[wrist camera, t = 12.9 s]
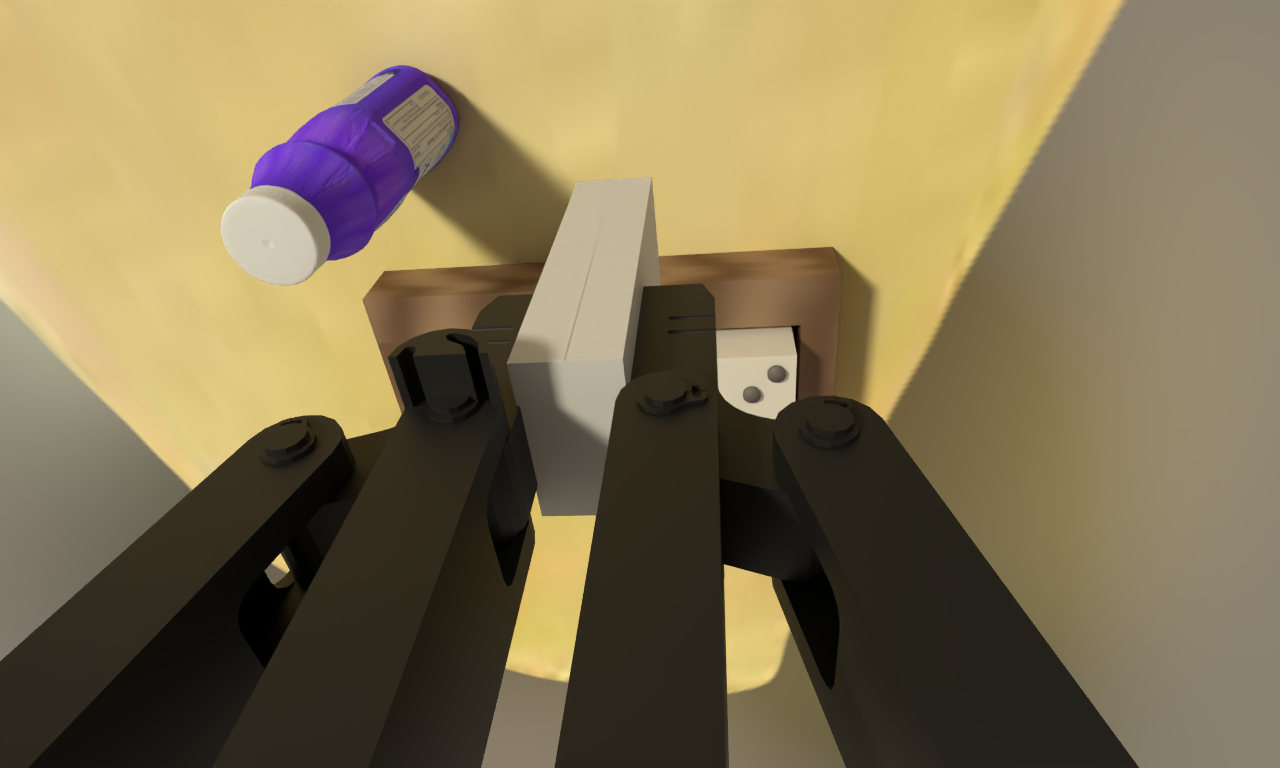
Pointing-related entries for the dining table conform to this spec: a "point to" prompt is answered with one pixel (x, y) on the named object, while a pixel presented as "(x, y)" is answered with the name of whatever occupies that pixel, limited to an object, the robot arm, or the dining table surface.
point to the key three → (757, 368)
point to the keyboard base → (739, 281)
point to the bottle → (339, 177)
